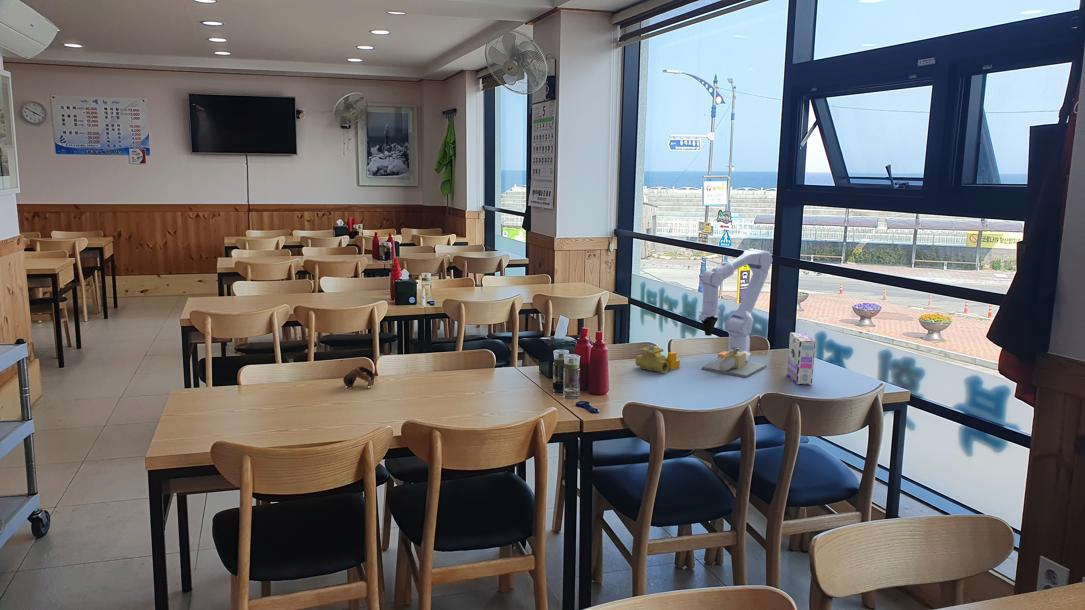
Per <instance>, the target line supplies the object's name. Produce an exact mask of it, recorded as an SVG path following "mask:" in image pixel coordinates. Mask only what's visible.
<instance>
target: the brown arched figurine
mask: <svg viewBox="0 0 1085 610" xmlns="http://www.w3.org/2000/svg"><path fill="white" fill-rule="evenodd" d="M357 378H358V379H360V380H362V381H364V382H367V386H371V385H372V386H374V384H375V378H376V375H375V373H374V372H373V371H372V370H371V369H369V368H367V367H365V366H361V365H358V366H356V368H354V369H352V370H351V371H349V373H347V374H346V375H344V377H343V384H344V386H345V385H346V386H348V387H352V388H354V387H353V386H354V384H355V382H356V381H357ZM348 387H347V388H348Z"/></svg>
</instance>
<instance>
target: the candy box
mask: <svg viewBox="0 0 1085 610" xmlns="http://www.w3.org/2000/svg"><path fill="white" fill-rule="evenodd" d="M788 340H789V342H788V357H787V371H786V375H787V376H788V377H789V378H790V379H791V381H793V382H794V383H795V385H799V384H802V386H805V385H806V386H812V385H813V375H814V363H815V354H816V353H815V352H816V343H817V342H816V340H815V339H813V338H812V337H810V336H809V335H808V334H807V333H805V332H789V339H788Z"/></svg>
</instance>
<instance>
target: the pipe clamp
mask: <svg viewBox="0 0 1085 610" xmlns="http://www.w3.org/2000/svg"><path fill="white" fill-rule="evenodd" d="M654 348H659V349H660V347H659V346H657V345H654ZM660 354H661V352H659V353H656V354H655V355H656V356H657V355H660ZM666 359H667V362H668V363H669V368H668V370H677V369H680V360H679V359H677V352H675V351H670V352H667V357H666Z"/></svg>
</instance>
